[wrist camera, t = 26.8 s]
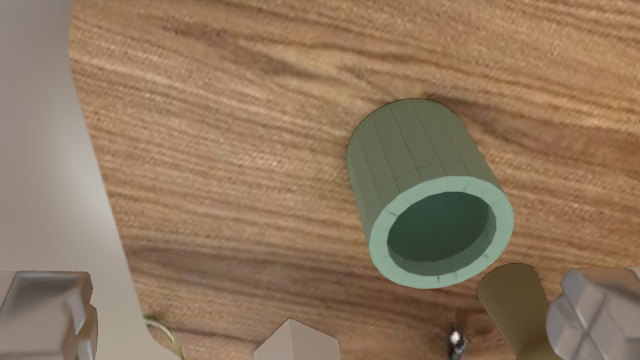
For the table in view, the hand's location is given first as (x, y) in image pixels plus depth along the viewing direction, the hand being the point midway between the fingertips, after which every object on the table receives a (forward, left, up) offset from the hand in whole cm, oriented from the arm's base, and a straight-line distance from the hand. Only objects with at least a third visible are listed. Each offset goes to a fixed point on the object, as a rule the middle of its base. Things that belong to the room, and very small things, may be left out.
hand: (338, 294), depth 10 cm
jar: (+12, -17, -31) cm, 37 cm away
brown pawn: (+25, -32, -31) cm, 51 cm away
